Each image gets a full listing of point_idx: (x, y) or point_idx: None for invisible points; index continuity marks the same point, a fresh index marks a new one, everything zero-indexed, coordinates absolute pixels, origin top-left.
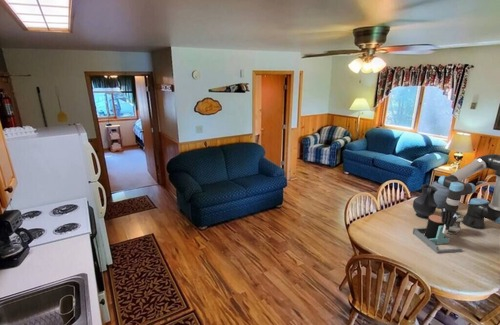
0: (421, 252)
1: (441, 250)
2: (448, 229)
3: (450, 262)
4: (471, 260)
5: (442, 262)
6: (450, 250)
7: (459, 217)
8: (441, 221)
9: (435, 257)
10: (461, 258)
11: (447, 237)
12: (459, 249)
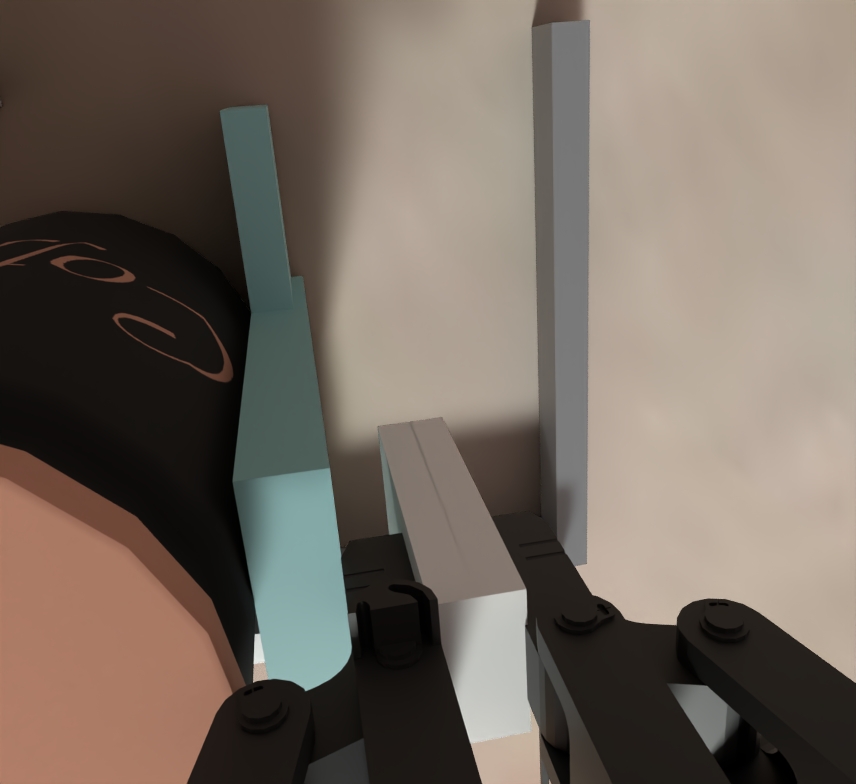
0: (523, 733)
1: (581, 490)
2: (549, 540)
3: (790, 463)
4: (828, 56)
5: (766, 573)
6: (584, 311)
7: None
8: (175, 754)
9: (654, 606)
10: (747, 209)
11: (227, 146)
12: (586, 98)
